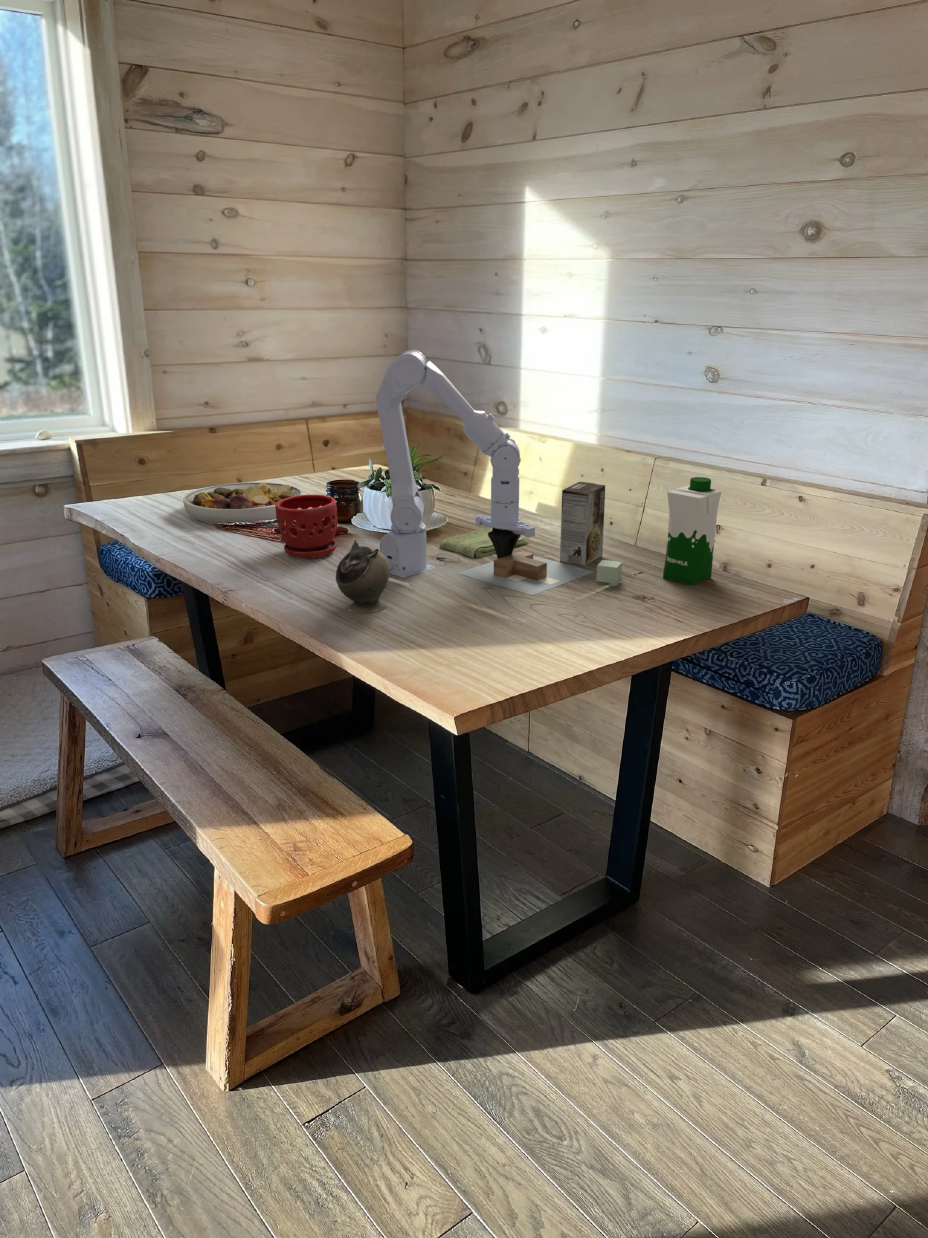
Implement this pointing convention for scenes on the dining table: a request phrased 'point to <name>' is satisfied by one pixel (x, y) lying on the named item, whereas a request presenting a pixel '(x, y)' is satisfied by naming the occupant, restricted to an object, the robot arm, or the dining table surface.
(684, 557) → the milk carton
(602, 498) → the coffee box
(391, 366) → the robot arm
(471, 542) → the washcloth
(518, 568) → the tee block
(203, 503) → the bowl
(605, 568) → the sage cube
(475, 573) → the board
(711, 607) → the dining table surface
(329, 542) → the plant pot
